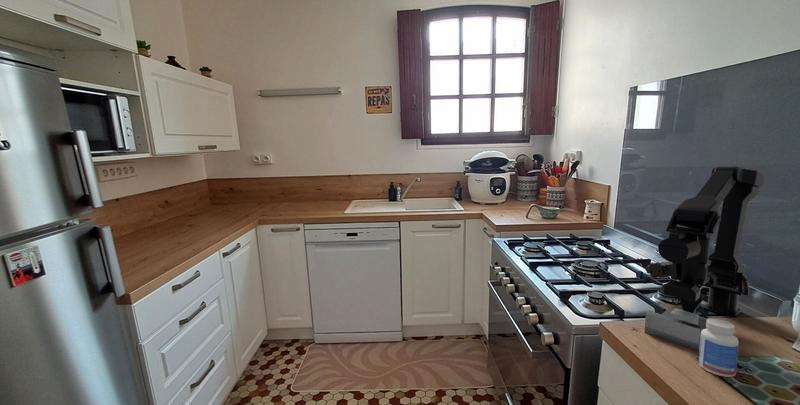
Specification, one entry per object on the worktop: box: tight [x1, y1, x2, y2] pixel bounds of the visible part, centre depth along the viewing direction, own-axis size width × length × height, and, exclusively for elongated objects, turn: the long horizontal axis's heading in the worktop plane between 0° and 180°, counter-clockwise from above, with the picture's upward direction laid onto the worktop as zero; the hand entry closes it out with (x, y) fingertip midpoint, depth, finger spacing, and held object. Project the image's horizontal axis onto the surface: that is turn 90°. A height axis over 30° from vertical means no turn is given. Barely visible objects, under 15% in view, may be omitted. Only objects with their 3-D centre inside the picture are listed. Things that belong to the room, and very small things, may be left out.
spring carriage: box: [670, 308, 700, 325], centre depth 79 cm, size 4×7×3 cm, turn 34°
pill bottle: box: [698, 318, 740, 378], centre depth 64 cm, size 6×5×10 cm
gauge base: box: [644, 308, 708, 352], centre depth 79 cm, size 17×10×5 cm, turn 124°
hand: (687, 316), depth 80 cm, fingers closed
